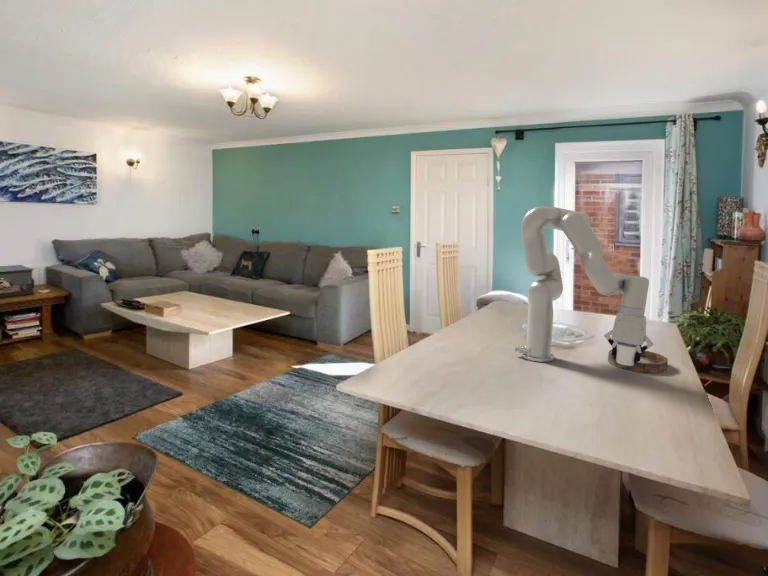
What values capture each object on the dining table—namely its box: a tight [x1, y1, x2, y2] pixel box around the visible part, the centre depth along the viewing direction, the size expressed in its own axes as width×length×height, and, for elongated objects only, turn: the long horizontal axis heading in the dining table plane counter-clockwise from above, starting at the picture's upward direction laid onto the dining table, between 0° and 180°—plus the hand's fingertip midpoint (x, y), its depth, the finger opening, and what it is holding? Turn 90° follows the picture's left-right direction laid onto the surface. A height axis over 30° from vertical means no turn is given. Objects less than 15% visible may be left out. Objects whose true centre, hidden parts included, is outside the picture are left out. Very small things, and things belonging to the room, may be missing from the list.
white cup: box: [616, 342, 637, 366], centre depth 163 cm, size 7×7×7 cm
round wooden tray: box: [607, 349, 669, 374], centre depth 177 cm, size 20×20×4 cm
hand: (625, 359), depth 163 cm, fingers closed on white cup, 6 cm apart
